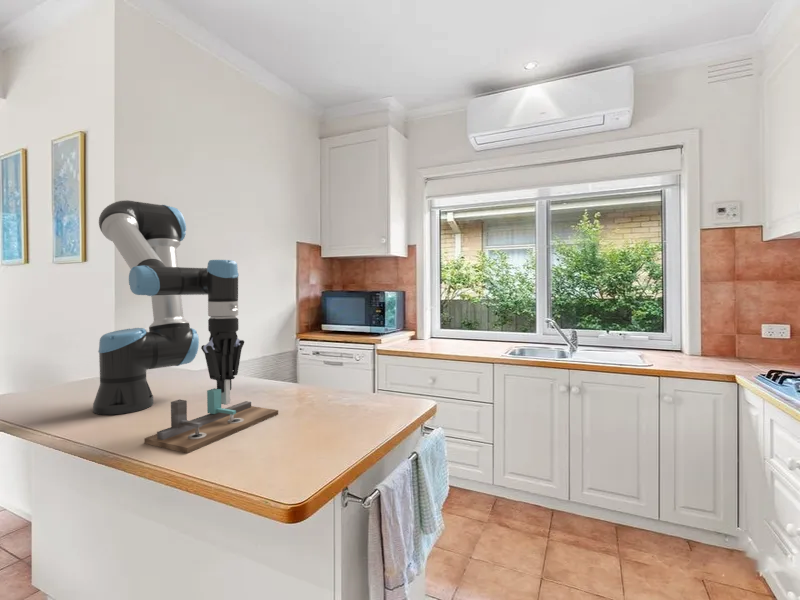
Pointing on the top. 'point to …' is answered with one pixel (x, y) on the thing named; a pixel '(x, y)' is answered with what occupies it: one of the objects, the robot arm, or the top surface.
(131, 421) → the top surface
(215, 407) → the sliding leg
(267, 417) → the board
